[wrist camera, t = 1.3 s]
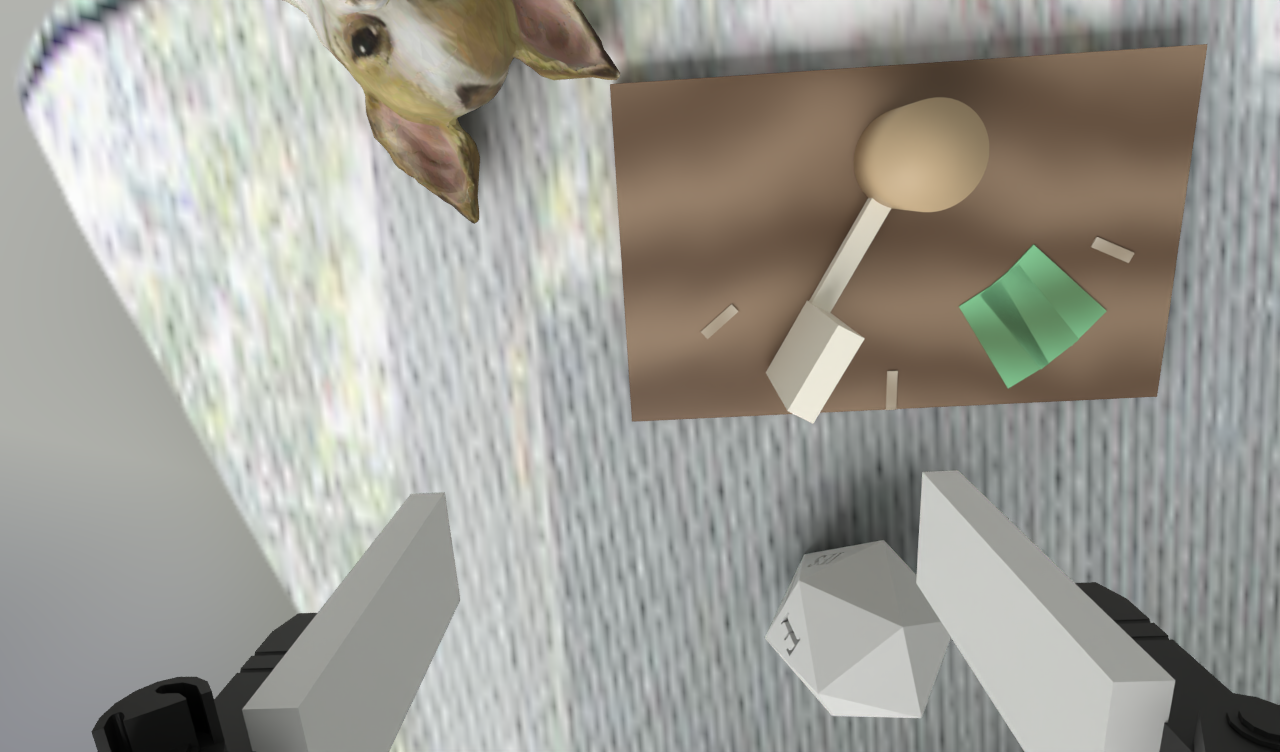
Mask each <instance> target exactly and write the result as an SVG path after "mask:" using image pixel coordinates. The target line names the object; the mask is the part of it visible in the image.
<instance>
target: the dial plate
mask: <svg viewBox="0 0 1280 752" xmlns="http://www.w3.org/2000/svg"><path fill="white" fill-rule="evenodd" d="M1206 51H1207V44H1203V45H1188V46H1173V47H1158V48H1143V49H1128V50H1113V51H1099V52H1084V53H1069V54H1054V55H1039V56H1024V57H1009V58H994V59H979V60H964V61H949V62H934V63H919V64H904V65H889V66H875V67H860V68H845V69H830V70H815V71H800V72H785V73H770V74H755V75H740V76H725V77H710V78H695V79H680V80H665V81H651V82H636V83H621V84H610V91H611V106H612V121H613V137H614V152H615V167H616V182H617V198H618V213H619V228H620V244H621V259H622V274H623V289H624V305H625V320H626V335H627V351H628V366H629V381H630V397H631V412H632V422H633V421H654V420H675V419H696V418H717V417H738V416H759V415H780V414H792V413H790V412H788V411H787V409H786V407H785V406H784V404H783V402H782V400H781V399H780V397H779V395H778V393H777V392H776V390H775V388H774V386H773V385H772V383H771V381H770V379H769V378H768V376H767V374H766V371H767V369H768V368H769V366H770V364H771V362H772V361H773V359H774V357H775V355H776V354H777V352H778V350H779V349H780V347H781V345H782V343H783V342H784V340H785V338H786V336H787V335H788V333H789V331H790V329H791V328H792V326H793V324H794V322H795V321H796V319H797V317H798V315H799V314H800V312H801V310H802V308H803V307H804V305H805V303H806V301H809V300H810V299H811V297H812V295H813V293H814V292H815V290H816V288H817V286H818V285H819V283H820V281H821V279H822V278H823V276H824V274H825V272H826V271H827V269H828V267H829V265H830V264H831V262H832V260H833V258H834V257H835V255H836V253H837V252H838V250H839V248H840V246H841V245H842V243H843V241H844V239H845V238H846V236H847V234H848V232H849V231H850V229H851V227H852V225H853V224H854V222H855V220H856V218H857V217H858V215H859V213H860V211H861V210H862V208H863V206H864V204H865V203H866V201H867V199H868V197H867V196H866V195H865V194H864V192H863V191H862V189H861V188H860V186H859V184H858V182H857V179H856V176H855V171H854V155H855V150H856V147H857V144H858V141H859V139H860V137H861V135H862V134H863V132H864V131H865V129H866V128H867V127H868V126H869V124H870V123H871V122H873V121H874V120H875V119H876V118H877V117H879V116H880V115H882V114H884V113H885V112H888V111H890V110H893V109H896V108H899V107H902V106H905V105H908V104H912V103H915V102H918V101H921V100H925V99H928V98H935V97H945V98H951V99H955V100H958V101H960V102H962V103H964V104H966V105H967V106H969V107H970V108H972V109H973V110H974V111H975V112H976V113H977V115H978V116H979V117H980V118H981V120H982V122H983V123H984V126H985V128H986V130H987V134H988V138H989V159H988V163H987V167H986V170H985V172H984V175H983V177H982V179H981V180H980V182H979V184H978V185H977V186H976V188H975V189H974V190H973V191H972V192H971V194H969V195H968V196H967V197H966V198H965V199H964V200H962V201H961V202H959V203H958V204H956V205H954V206H952V207H950V208H947V209H945V210H941V211H936V212H918V211H908V210H899V209H891V210H890V211H889V213H888V215H887V217H886V218H885V220H884V222H883V223H882V225H881V227H880V229H879V230H878V232H877V234H876V235H875V237H874V239H873V240H872V242H871V244H870V246H869V247H868V249H867V251H866V252H865V254H864V256H863V258H862V259H861V261H860V263H859V264H858V266H857V268H856V270H855V271H854V273H853V275H852V276H851V278H850V280H849V281H848V283H847V285H846V287H845V288H844V290H843V292H842V293H841V295H840V297H839V299H838V300H837V302H836V304H835V305H834V307H833V309H832V311H831V312H830V313H831V314H833V315H834V316H835V317H837V318H838V319H839V320H841V321H842V322H843V323H845V324H846V325H847V326H849V327H850V328H851V329H853V330H854V331H855V332H857V333H858V334H859V335H861V336H862V337H863V338H865V339H864V341H863V342H862V344H861V345H860V347H859V349H858V350H857V352H856V354H855V355H854V357H853V359H852V360H851V362H850V364H849V365H848V367H847V369H846V370H845V372H844V374H843V375H842V377H841V379H840V380H839V382H838V383H837V385H836V387H835V388H834V390H833V392H832V393H831V395H830V397H829V398H828V400H827V402H826V403H825V405H824V407H823V408H822V410H821V412H820V413H822V412H843V411H864V410H885V409H886V410H896V409H906V408H927V407H948V406H969V405H990V404H1011V403H1032V402H1053V401H1074V400H1095V399H1116V398H1137V397H1157V393H1158V386H1159V379H1160V372H1161V365H1162V358H1163V351H1164V344H1165V337H1166V330H1167V323H1168V316H1169V309H1170V302H1171V295H1172V288H1173V281H1174V274H1175V267H1176V260H1177V253H1178V246H1179V239H1180V232H1181V225H1182V218H1183V211H1184V204H1185V197H1186V190H1187V183H1188V176H1189V169H1190V162H1191V155H1192V149H1193V142H1194V135H1195V128H1196V121H1197V114H1198V107H1199V100H1200V93H1201V86H1202V79H1203V72H1204V65H1205V58H1206Z"/></svg>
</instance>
